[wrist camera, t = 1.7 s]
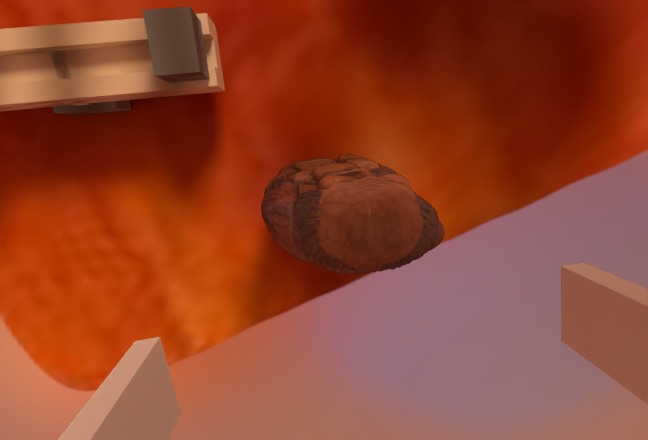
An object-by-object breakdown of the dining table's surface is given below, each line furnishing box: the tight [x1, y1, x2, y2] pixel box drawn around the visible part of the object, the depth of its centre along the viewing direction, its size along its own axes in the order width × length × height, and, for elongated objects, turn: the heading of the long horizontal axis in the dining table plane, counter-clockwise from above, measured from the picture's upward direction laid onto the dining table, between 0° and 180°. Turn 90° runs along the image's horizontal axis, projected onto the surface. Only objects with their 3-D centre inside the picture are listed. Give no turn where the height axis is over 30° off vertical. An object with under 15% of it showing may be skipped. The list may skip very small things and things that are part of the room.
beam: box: [0, 7, 225, 116], centre depth 28 cm, size 23×6×9 cm, turn 96°
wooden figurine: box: [261, 154, 445, 274], centre depth 28 cm, size 12×6×18 cm, turn 95°
